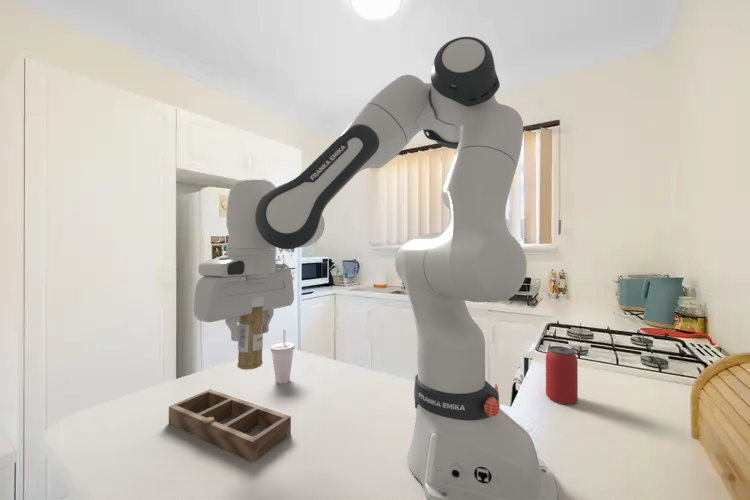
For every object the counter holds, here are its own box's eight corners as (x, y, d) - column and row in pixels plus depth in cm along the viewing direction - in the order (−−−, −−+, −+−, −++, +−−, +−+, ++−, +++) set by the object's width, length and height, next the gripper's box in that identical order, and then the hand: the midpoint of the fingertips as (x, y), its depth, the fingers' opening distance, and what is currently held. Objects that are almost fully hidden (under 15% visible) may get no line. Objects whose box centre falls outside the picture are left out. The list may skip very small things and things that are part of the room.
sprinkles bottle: (265, 367, 57) (266, 296, 57) (239, 372, 55) (241, 298, 55) (259, 360, 61) (261, 293, 61) (234, 364, 59) (236, 294, 59)
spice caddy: (290, 434, 59) (290, 414, 59) (250, 464, 51) (250, 441, 51) (209, 404, 71) (210, 387, 71) (166, 424, 62) (166, 405, 62)
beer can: (580, 398, 74) (580, 349, 74) (574, 409, 69) (574, 356, 69) (549, 390, 78) (549, 343, 78) (542, 399, 73) (542, 349, 73)
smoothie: (299, 379, 84) (299, 329, 85) (281, 388, 79) (281, 334, 79) (283, 374, 88) (284, 326, 88) (265, 382, 82) (265, 330, 83)
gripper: (279, 262, 69) (279, 323, 69) (188, 265, 51) (187, 348, 51) (301, 263, 66) (300, 326, 66) (212, 266, 48) (211, 354, 48)
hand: (250, 336), depth 58 cm, fingers closed on sprinkles bottle, 4 cm apart
